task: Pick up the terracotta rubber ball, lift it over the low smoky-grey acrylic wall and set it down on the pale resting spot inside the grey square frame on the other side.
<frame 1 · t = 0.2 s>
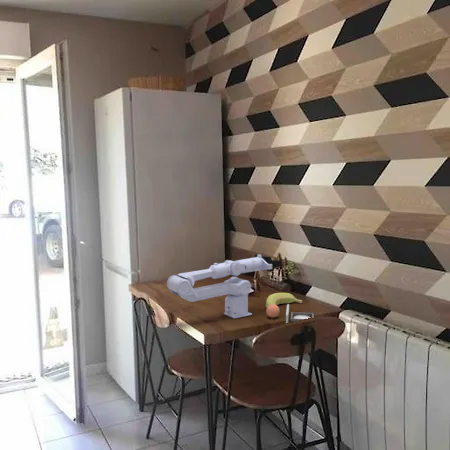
hand: (275, 261, 216), 21 cm above the table, tool horizontal, fingers open, 7 cm apart
banana: (284, 306, 221), on the table
ball: (272, 310, 203), point 3 cm above the table
grey square frame: (302, 318, 202), on the table
acrylic wall: (287, 317, 202), on the table
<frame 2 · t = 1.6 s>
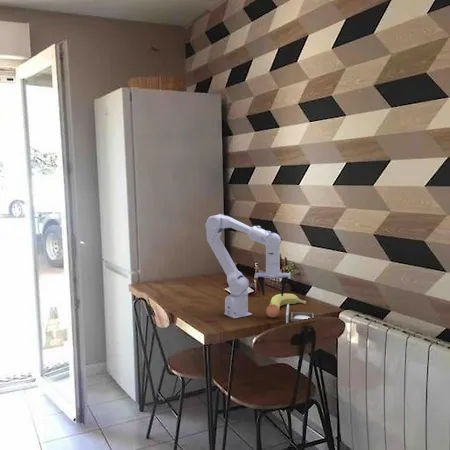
hand: (272, 295, 202), 9 cm above the table, tool pointing down, fingers open, 7 cm apart
banana: (288, 307, 219), on the table
everything else where it was.
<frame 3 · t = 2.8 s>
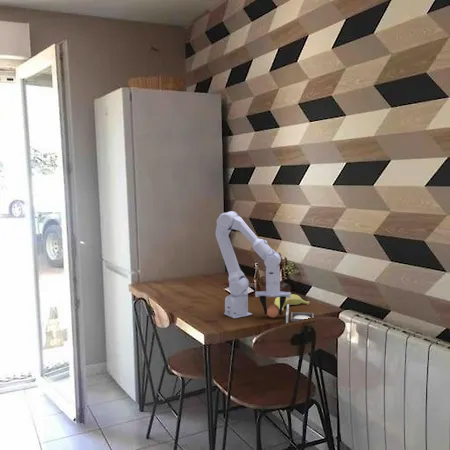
hand: (272, 314, 203), 1 cm above the table, tool pointing down, fingers closed on ball, 5 cm apart
banana: (292, 308, 218), on the table
ball: (272, 310, 203), point 3 cm above the table, touching gripper
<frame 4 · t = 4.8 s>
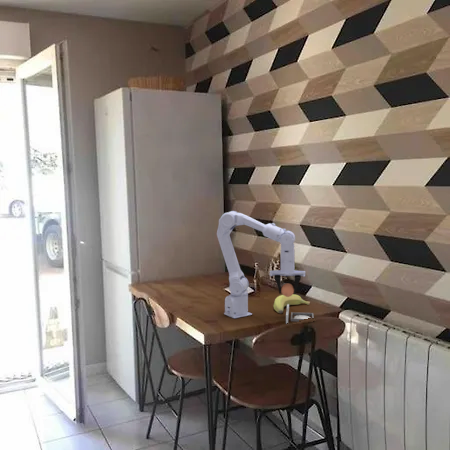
hand: (287, 293, 201), 10 cm above the table, tool pointing down, fingers closed on ball, 5 cm apart
banana: (292, 308, 218), on the table, touching acrylic wall
ball: (287, 290, 201), point 12 cm above the table, touching gripper
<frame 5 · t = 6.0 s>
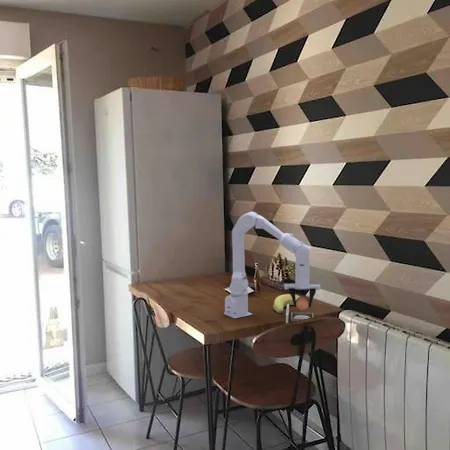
hand: (302, 306, 201), 5 cm above the table, tool pointing down, fingers closed on ball, 5 cm apart
banana: (292, 308, 218), on the table
ball: (302, 303, 201), point 6 cm above the table, touching gripper
when the fingers open (3 cm above the table, at t = 6.9 s): ball drops 2 cm, resting on grey square frame.
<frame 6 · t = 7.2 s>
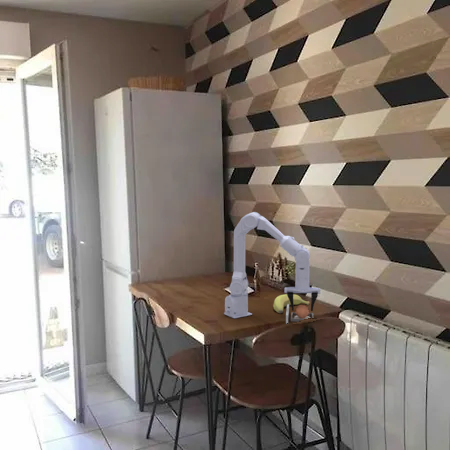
hand: (302, 310, 201), 3 cm above the table, tool pointing down, fingers open, 7 cm apart
ball: (302, 311, 201), point 3 cm above the table, touching grey square frame
everything else where it was.
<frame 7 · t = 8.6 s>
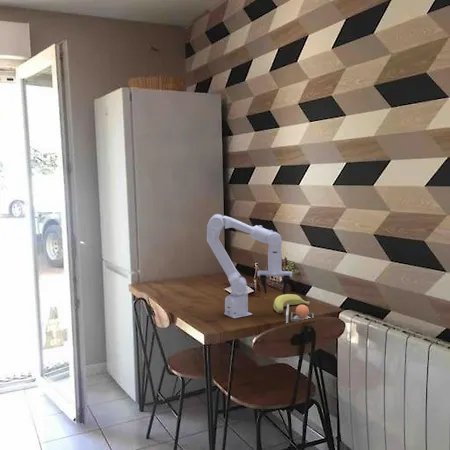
hand: (274, 293, 206), 9 cm above the table, tool pointing down, fingers open, 7 cm apart
nothing on the table moved.
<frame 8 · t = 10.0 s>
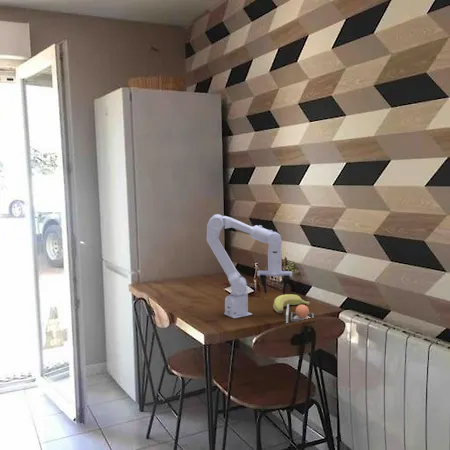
hand: (274, 293, 206), 9 cm above the table, tool pointing down, fingers open, 7 cm apart
nothing on the table moved.
at the end: ball 0.0 cm from the grey square frame (horizontally); ball point 2.9 cm above the table; the gripper is holding nothing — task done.
